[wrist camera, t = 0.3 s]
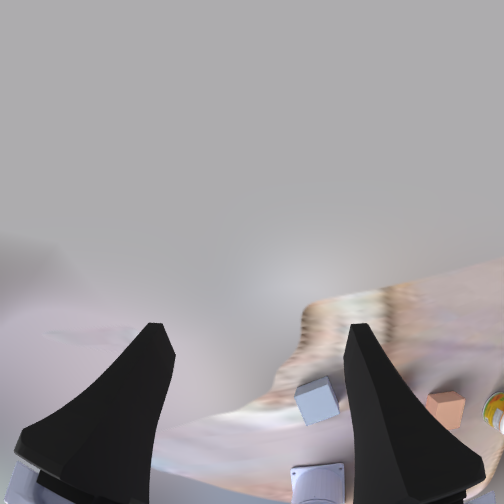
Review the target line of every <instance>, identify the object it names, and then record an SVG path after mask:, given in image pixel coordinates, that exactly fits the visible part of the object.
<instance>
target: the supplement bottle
mask: <svg viewBox="0 0 504 504" xmlns="http://www.w3.org/2000/svg"><path fill="white" fill-rule="evenodd" d="M482 415H483V419H484V421H485V422H486V423H488V424H489V425H491V426H492V427H493V428H495V429H496V430H498V431H499V432H500V433H502V434H503V435H504V393H503V392H497V393H495V394H493V395H492V396H491V397H490V398H489V399H488V400H487V402H486V403H485V405H484V408H483V413H482Z"/></svg>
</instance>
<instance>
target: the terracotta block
mask: <svg viewBox="0 0 504 504" xmlns="http://www.w3.org/2000/svg"><path fill="white" fill-rule="evenodd" d="M464 404H465V398H463V397H462V396H460V395H459V394H457V393H456V392H454V391H450V392H443V393H436V394H428V397H427V403H426V409H427V410H428V411H429V412H430V413H431V414H432V415H433V416H434V417H435V418H436V419H437V420H438V421H439V422H440V423H441V424H442V425H443V426H444V427H445V428H446V429H447V430H451V429H456V428H459V427H460V423H461V418H462V414H463V409H464Z"/></svg>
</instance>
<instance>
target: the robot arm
mask: <svg viewBox="0 0 504 504" xmlns="http://www.w3.org/2000/svg"><path fill="white" fill-rule="evenodd" d="M175 357H176V354H175V352H174V350H173V348H172V345H171V343H170V341H169V338H168V336H167V333H166V331H165V329H164V326H163V324H162V323H148V324H147V325H146V326H145V328H144V329H143V330H142V331H141V332H140V333H139V334H138V335H137V337H136V338H135V339H134V340H133V341H132V342H131V343H130V345H129V346H128V347H127V348H126V349H125V350H124V351H123V352H122V354H121V355H120V356H119V357H118V358H117V359H116V360H115V361H114V362H113V364H112V365H111V366H110V367H109V368H108V369H107V370H106V371H105V372H104V373H103V374H102V375H101V376H100V377H99V378H98V379H97V380H96V381H95V382H94V383H92V384H91V385H90V386H89V387H88V388H87V389H86V390H84V391H83V392H82V393H81V394H80V395H78V396H77V397H76V398H74V399H73V400H72V401H70V402H69V403H68V404H66V405H65V406H64V407H62V408H61V409H59V410H57V411H56V412H54V413H53V414H51V415H49V416H48V417H46V418H44V419H42V420H41V421H38V422H36V423H35V424H32V425H30V426H28V427H26V428H24V429H23V430H22V432H21V434H20V437H19V439H18V441H17V444H16V447H15V449H14V453H15V454H16V455H18V456H19V457H21V458H23V459H24V460H26V461H27V462H29V463H30V464H33V465H34V466H36V467H37V468H39V469H41V470H40V472H39V473H37V472H36V471H34V470H32V469H31V468H29V467H27V466H26V465H24V464H22V463H21V462H19V461H17V462H16V465H15V468H14V471H13V473H12V476H11V479H10V482H9V485H8V488H7V491H6V495H5V498H4V501H5V502H6V503H7V504H149V480H150V468H151V459H152V451H153V444H154V438H155V432H156V428H157V424H158V420H159V417H160V413H161V410H162V407H163V404H164V401H165V398H166V394H167V391H168V388H169V385H170V381H171V378H172V373H173V368H174V362H175ZM343 359H344V373H345V383H346V389H347V394H348V400H349V406H350V412H351V417H352V424H353V431H354V444H355V482H354V499H353V504H496V501H495V493H494V491H491V492H489V493H486V494H484V495H482V496H480V497H478V498H476V499H474V500H471V501H468V502H465V503H463V499H464V498H466V496H467V495H466V489H469V488H471V487H473V486H475V485H477V484H479V483H480V482H482V481H484V480H485V478H486V475H485V469H484V464H483V461H482V458H481V456H479V455H478V454H476V453H475V452H474V451H472V450H471V449H470V448H468V447H467V446H466V445H464V444H463V443H462V442H461V441H459V440H458V439H457V438H456V437H455V436H454V435H452V434H451V433H450V432H449V431H448V430H447V429H446V428H445V427H444V426H443V425H442V424H441V423H440V422H439V421H438V420H437V419H436V418H435V417H434V416H433V415H432V414H431V413H430V412H429V411H428V410H427V409H426V408H425V407H424V405H423V404H422V403H421V402H420V401H419V400H418V398H417V397H416V396H415V395H414V393H413V392H412V391H411V390H410V388H409V387H408V386H407V384H406V383H405V382H404V380H403V379H402V377H401V376H400V375H399V373H398V372H397V370H396V369H395V367H394V366H393V364H392V363H391V361H390V360H389V358H388V357H387V355H386V354H385V352H384V350H383V349H382V347H381V346H380V344H379V342H378V341H377V339H376V337H375V335H374V334H373V332H372V330H371V328H370V327H369V325H368V324H367V323H362V324H351V326H350V331H349V335H348V340H347V344H346V348H345V353H344V357H343ZM339 468H342V469H339ZM293 472H295V474H294V473H293ZM291 480H292V488H293V496H292V500H291V504H345V490H344V464H343V463H337V464H329V465H320V466H310V467H296V468H292V469H291Z"/></svg>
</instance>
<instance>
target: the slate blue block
mask: <svg viewBox="0 0 504 504" xmlns="http://www.w3.org/2000/svg"><path fill="white" fill-rule="evenodd" d="M294 398H295V400H296V403H297V405H298V407H299V410H300V412H301V414H302V417H303V419H304V421H305V424H306V426H308V425H311V424H314V423H317V422H319V421H322V420H325V419H328V418H330V417H333V416H336V415H338V414H340V411H339V404H338V401H337V398H336V396H335V393H334V391H333V388H332V386H331V383H330V381H329V379H328V376H326V377H323V378H321V379H318V380H316V381H313V382H311V383H308V384H305V385H303V386H300V387H297V389H296V392H295V396H294Z"/></svg>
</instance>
